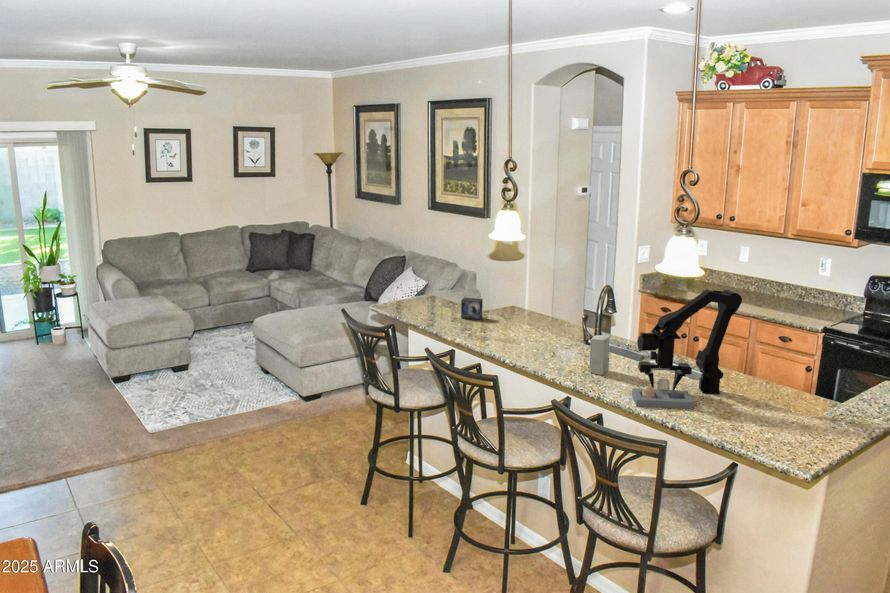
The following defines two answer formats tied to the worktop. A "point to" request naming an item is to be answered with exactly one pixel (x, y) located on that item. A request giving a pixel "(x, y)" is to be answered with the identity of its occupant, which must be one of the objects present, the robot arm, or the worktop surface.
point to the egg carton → (662, 398)
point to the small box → (471, 308)
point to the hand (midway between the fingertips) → (663, 389)
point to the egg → (663, 384)
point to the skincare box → (599, 354)
